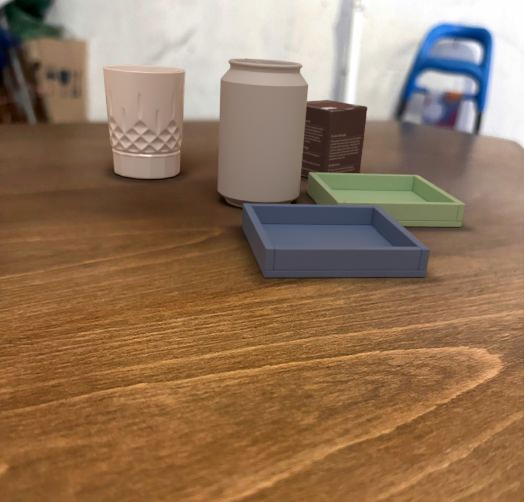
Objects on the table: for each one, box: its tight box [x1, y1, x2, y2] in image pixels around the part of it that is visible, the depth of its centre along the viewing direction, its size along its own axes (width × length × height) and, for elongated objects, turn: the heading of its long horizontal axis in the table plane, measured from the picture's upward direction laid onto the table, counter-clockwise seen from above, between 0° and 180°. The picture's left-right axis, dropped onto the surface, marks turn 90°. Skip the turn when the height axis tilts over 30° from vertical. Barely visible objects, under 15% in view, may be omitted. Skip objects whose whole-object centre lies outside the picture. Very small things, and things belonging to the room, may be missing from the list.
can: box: [217, 58, 309, 209], centre depth 59 cm, size 8×8×12 cm
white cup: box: [102, 64, 186, 180], centre depth 67 cm, size 8×8×10 cm
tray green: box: [306, 172, 466, 228], centre depth 61 cm, size 11×11×2 cm
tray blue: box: [241, 203, 431, 279], centre depth 49 cm, size 11×11×2 cm
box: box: [301, 99, 368, 178], centre depth 72 cm, size 6×6×7 cm
